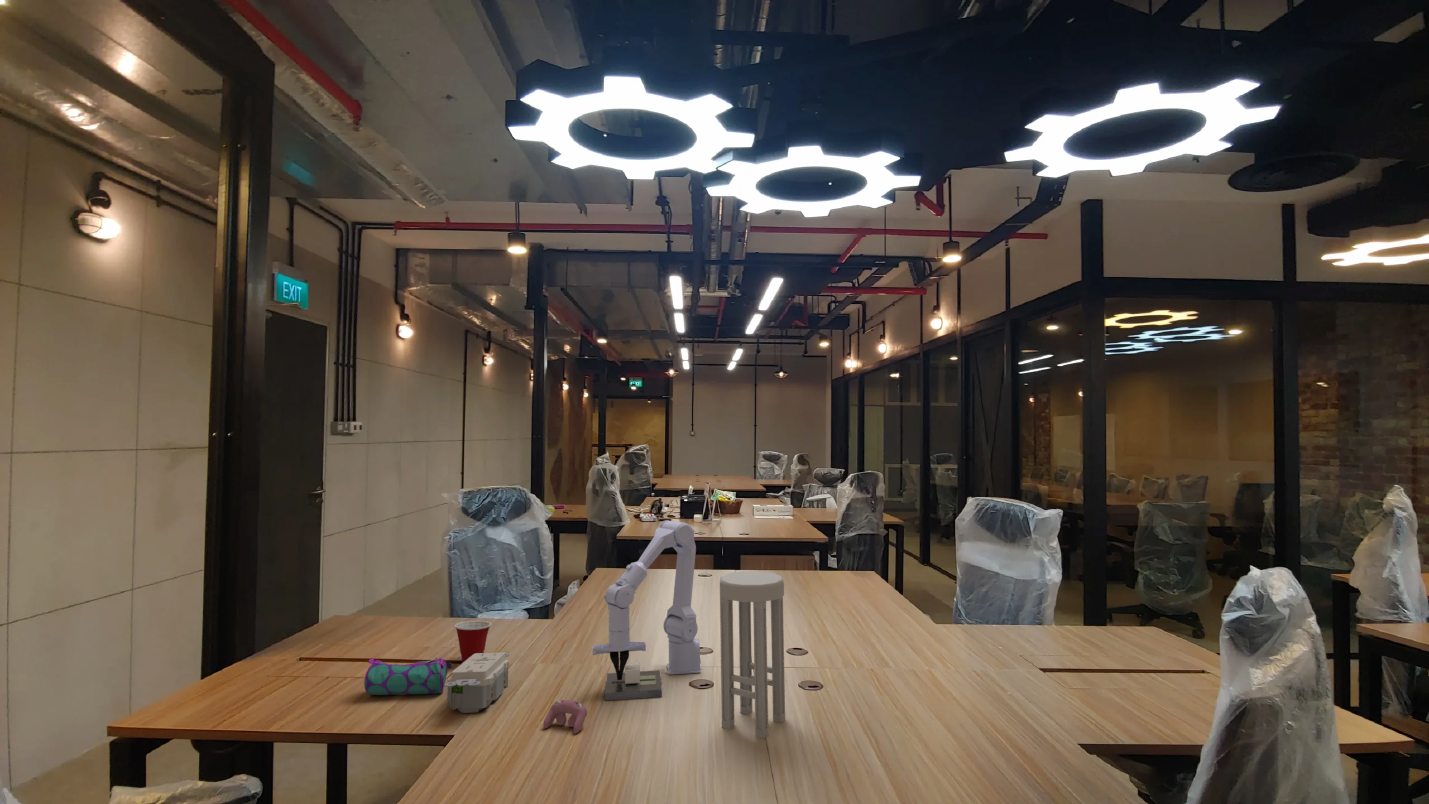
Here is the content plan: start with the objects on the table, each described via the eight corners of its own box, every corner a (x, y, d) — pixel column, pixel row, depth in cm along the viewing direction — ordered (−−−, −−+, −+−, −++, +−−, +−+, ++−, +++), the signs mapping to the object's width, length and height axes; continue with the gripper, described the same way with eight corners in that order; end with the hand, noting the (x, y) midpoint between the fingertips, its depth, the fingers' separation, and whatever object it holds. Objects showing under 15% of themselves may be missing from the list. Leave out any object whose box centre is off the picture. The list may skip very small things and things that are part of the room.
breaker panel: (659, 677, 183) (659, 669, 183) (661, 696, 169) (661, 688, 170) (607, 680, 181) (607, 672, 182) (605, 700, 168) (605, 692, 168)
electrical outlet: (435, 721, 155) (436, 679, 157) (474, 684, 184) (475, 648, 185) (483, 719, 156) (484, 677, 157) (515, 682, 184) (516, 647, 185)
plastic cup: (498, 659, 200) (498, 621, 200) (469, 670, 190) (469, 630, 191) (476, 653, 205) (476, 616, 206) (446, 664, 196) (447, 624, 197)
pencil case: (451, 684, 180) (451, 650, 181) (441, 697, 171) (441, 661, 172) (374, 689, 178) (375, 654, 178) (360, 702, 169) (361, 665, 169)
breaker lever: (639, 675, 178) (639, 663, 178) (639, 682, 173) (639, 669, 174) (625, 676, 178) (625, 663, 178) (625, 683, 173) (625, 670, 173)
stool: (767, 744, 143) (764, 587, 144) (709, 728, 151) (707, 580, 153) (796, 718, 156) (793, 574, 158) (741, 704, 164) (739, 568, 166)
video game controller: (585, 734, 152) (591, 702, 155) (576, 733, 148) (583, 701, 151) (549, 729, 155) (556, 698, 158) (540, 728, 151) (547, 696, 155)
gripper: (644, 622, 181) (644, 670, 180) (592, 626, 178) (592, 675, 178) (646, 630, 174) (646, 680, 174) (592, 634, 171) (592, 685, 171)
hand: (619, 678), depth 175 cm, fingers closed
